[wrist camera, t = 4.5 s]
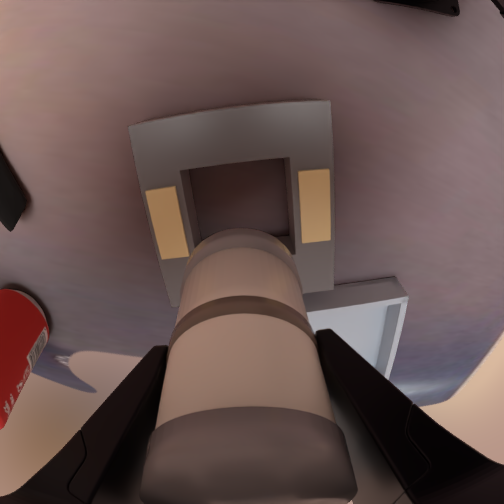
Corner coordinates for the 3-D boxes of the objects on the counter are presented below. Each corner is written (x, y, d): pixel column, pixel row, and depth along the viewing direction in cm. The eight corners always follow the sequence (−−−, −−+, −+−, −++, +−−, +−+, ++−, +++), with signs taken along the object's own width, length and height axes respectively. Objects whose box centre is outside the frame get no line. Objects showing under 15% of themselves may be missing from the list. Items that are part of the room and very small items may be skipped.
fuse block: (318, 99, 16) (331, 100, 14) (324, 268, 22) (334, 291, 19) (141, 121, 17) (126, 126, 14) (177, 285, 22) (171, 309, 19)
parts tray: (395, 276, 22) (408, 296, 20) (377, 366, 27) (386, 386, 25) (217, 299, 22) (215, 322, 20) (236, 387, 27) (237, 409, 25)
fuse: (294, 221, 11) (378, 452, 4) (298, 316, 12) (343, 516, 5) (174, 235, 11) (100, 467, 4) (197, 327, 13) (177, 528, 5)
